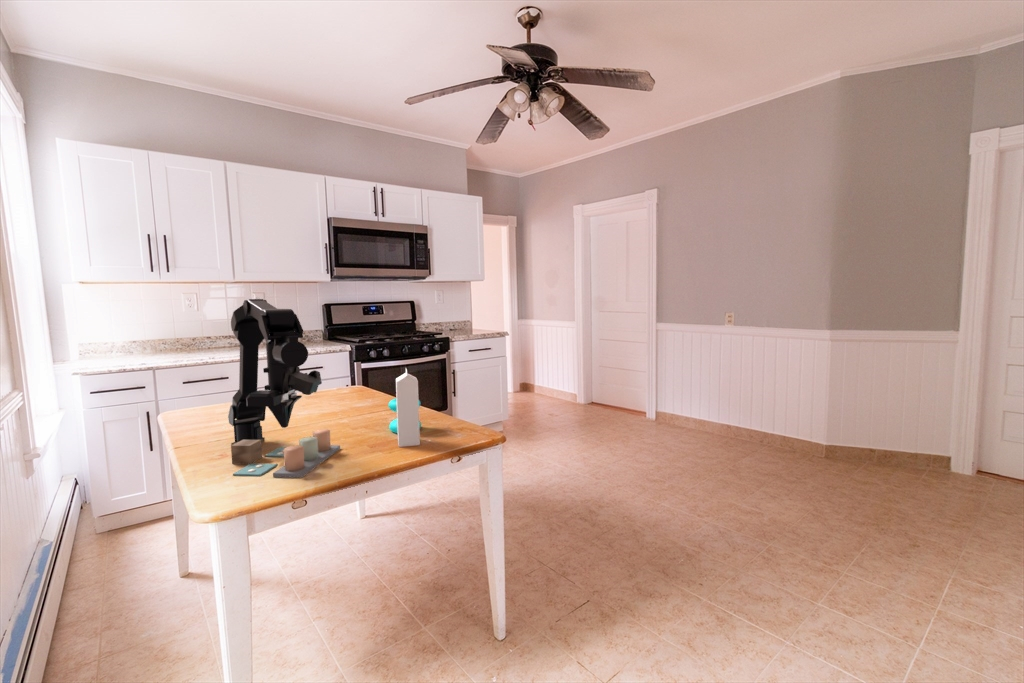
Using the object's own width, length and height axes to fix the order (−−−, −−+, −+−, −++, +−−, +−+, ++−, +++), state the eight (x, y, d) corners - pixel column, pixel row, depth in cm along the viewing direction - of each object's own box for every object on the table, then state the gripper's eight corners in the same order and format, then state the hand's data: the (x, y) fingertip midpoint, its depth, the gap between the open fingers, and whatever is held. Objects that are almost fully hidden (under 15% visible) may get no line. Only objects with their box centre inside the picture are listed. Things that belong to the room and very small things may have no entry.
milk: (398, 447, 133) (395, 371, 130) (397, 441, 138) (394, 367, 136) (420, 445, 134) (417, 369, 132) (418, 438, 140) (415, 366, 138)
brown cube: (232, 464, 121) (230, 445, 120) (244, 457, 126) (243, 439, 125) (250, 464, 120) (249, 445, 120) (262, 457, 125) (261, 439, 125)
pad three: (265, 456, 126) (265, 454, 126) (280, 448, 133) (279, 446, 133) (290, 457, 125) (290, 455, 125) (303, 448, 132) (303, 446, 132)
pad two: (232, 475, 113) (232, 472, 113) (251, 464, 120) (251, 462, 120) (260, 476, 112) (260, 473, 112) (277, 465, 119) (277, 463, 119)
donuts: (415, 403, 143) (383, 403, 144) (416, 435, 144) (384, 434, 145) (424, 396, 153) (394, 396, 154) (424, 425, 154) (395, 425, 155)
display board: (273, 477, 111) (271, 452, 111) (316, 448, 132) (315, 427, 132) (301, 477, 111) (299, 453, 110) (340, 448, 132) (339, 428, 131)
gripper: (292, 369, 100) (296, 440, 101) (332, 357, 118) (335, 417, 120) (242, 368, 100) (247, 439, 102) (290, 357, 119) (293, 416, 120)
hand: (284, 427), depth 111 cm, fingers closed
